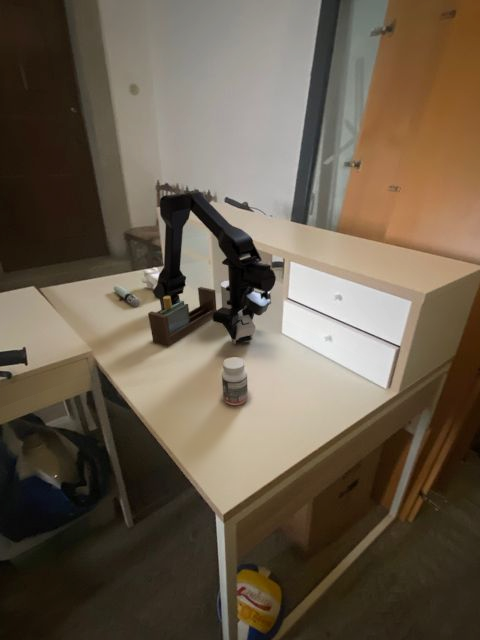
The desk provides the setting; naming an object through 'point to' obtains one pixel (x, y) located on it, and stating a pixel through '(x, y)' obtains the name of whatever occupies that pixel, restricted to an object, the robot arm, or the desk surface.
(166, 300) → the sash
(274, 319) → the desk surface
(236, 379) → the pill bottle
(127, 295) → the flashlight
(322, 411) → the desk surface
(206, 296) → the brown book rack
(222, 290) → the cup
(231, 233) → the robot arm
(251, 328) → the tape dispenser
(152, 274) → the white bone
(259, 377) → the desk surface
